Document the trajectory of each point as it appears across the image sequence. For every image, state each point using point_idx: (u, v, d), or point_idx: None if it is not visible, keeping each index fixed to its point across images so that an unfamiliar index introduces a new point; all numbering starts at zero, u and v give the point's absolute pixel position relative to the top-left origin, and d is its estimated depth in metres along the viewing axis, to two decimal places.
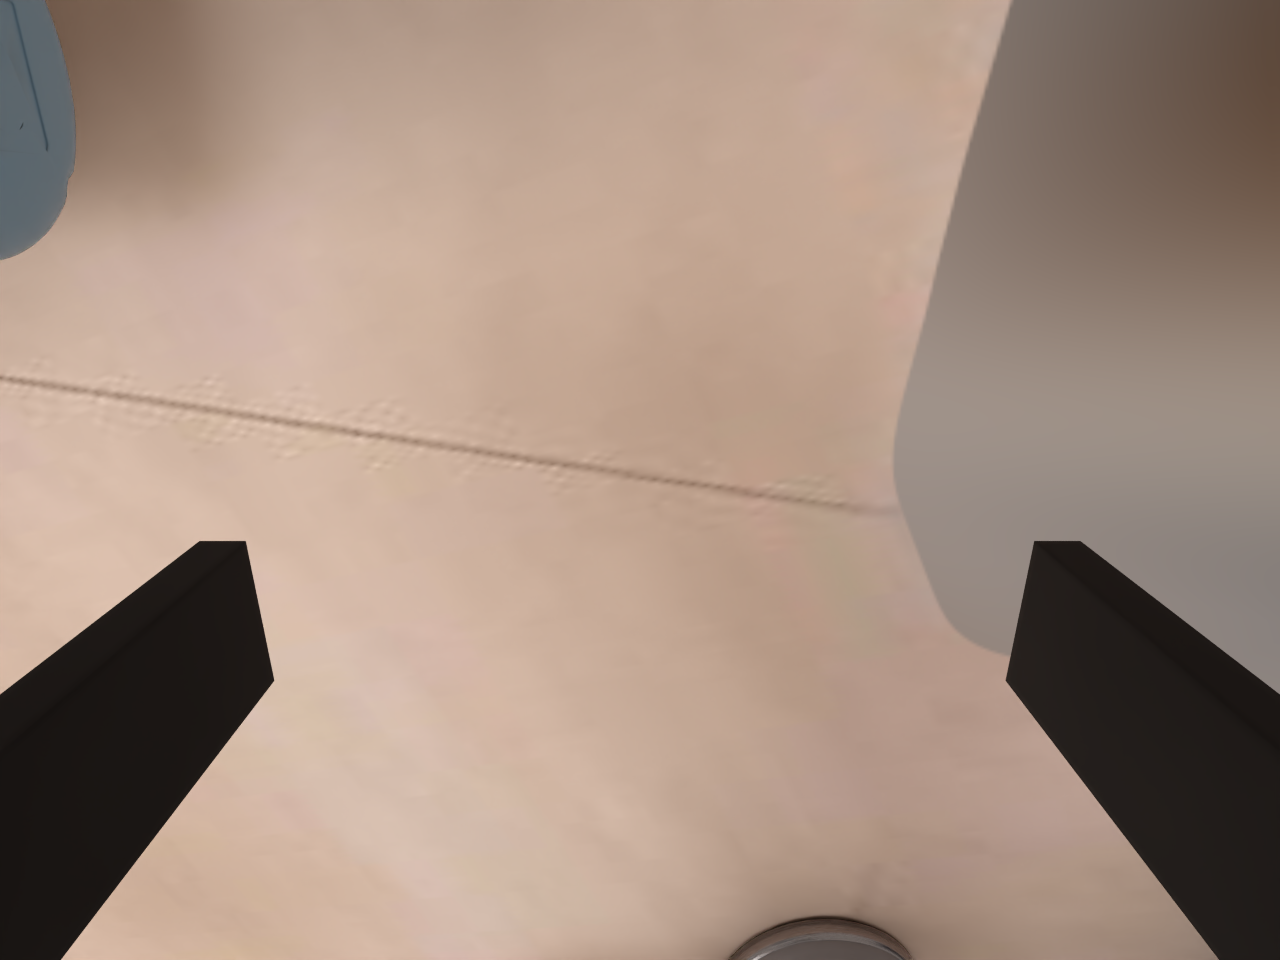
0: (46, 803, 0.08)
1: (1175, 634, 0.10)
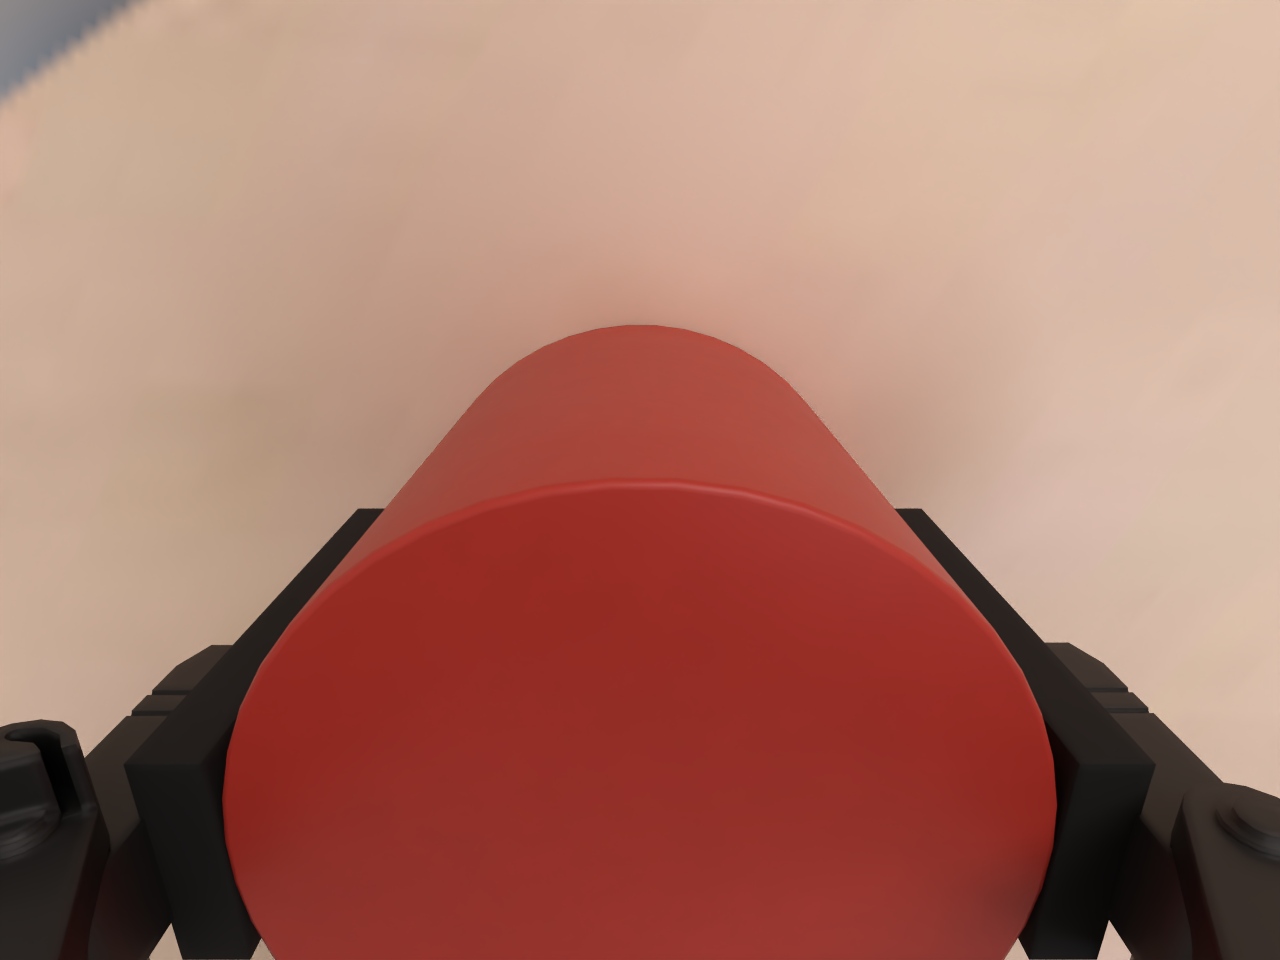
0: None
1: (966, 582, 0.11)
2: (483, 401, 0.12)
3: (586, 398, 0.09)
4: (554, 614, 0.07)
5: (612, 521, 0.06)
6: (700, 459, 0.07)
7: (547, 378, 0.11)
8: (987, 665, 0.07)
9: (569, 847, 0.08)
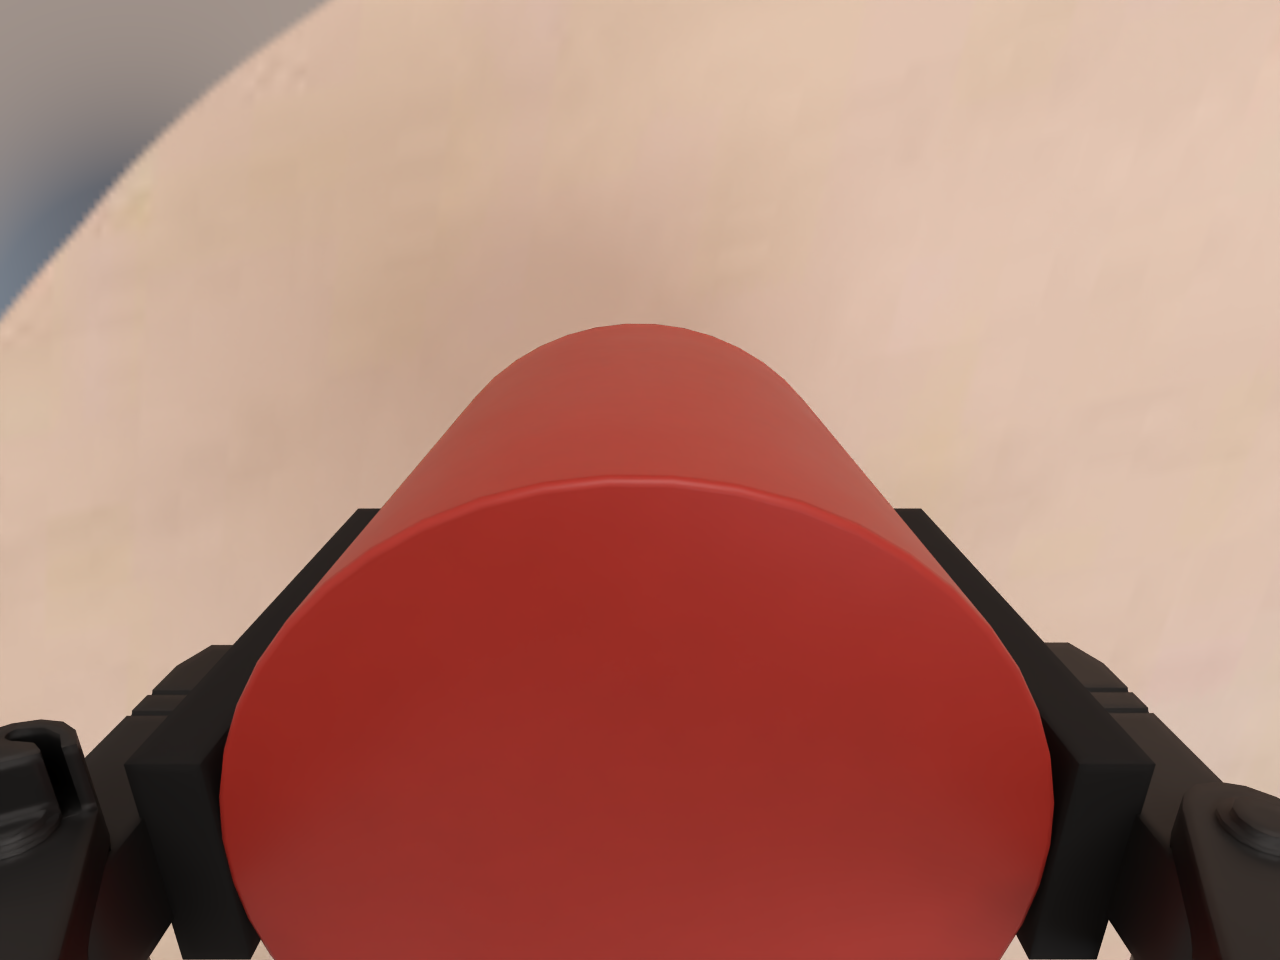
0: None
1: (966, 583, 0.11)
2: (481, 400, 0.12)
3: (583, 396, 0.09)
4: (551, 612, 0.07)
5: (608, 518, 0.06)
6: (697, 457, 0.07)
7: (545, 376, 0.11)
8: (984, 662, 0.07)
9: (566, 844, 0.08)
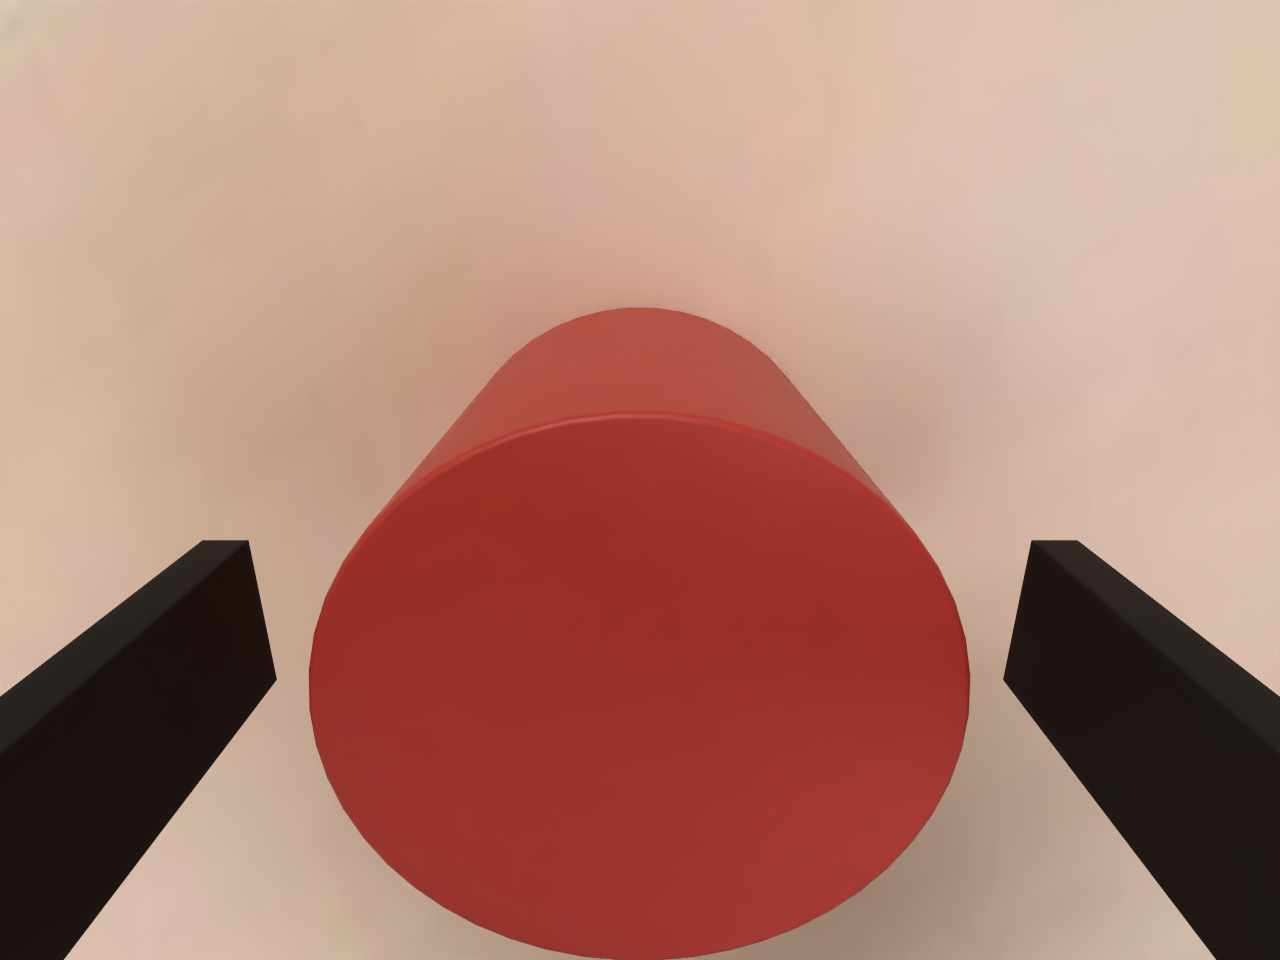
0: (51, 801, 0.08)
1: (1171, 633, 0.10)
2: (505, 371, 0.14)
3: (595, 361, 0.11)
4: (573, 521, 0.09)
5: (617, 444, 0.08)
6: (686, 400, 0.09)
7: (561, 349, 0.13)
8: (910, 561, 0.09)
9: (583, 714, 0.10)
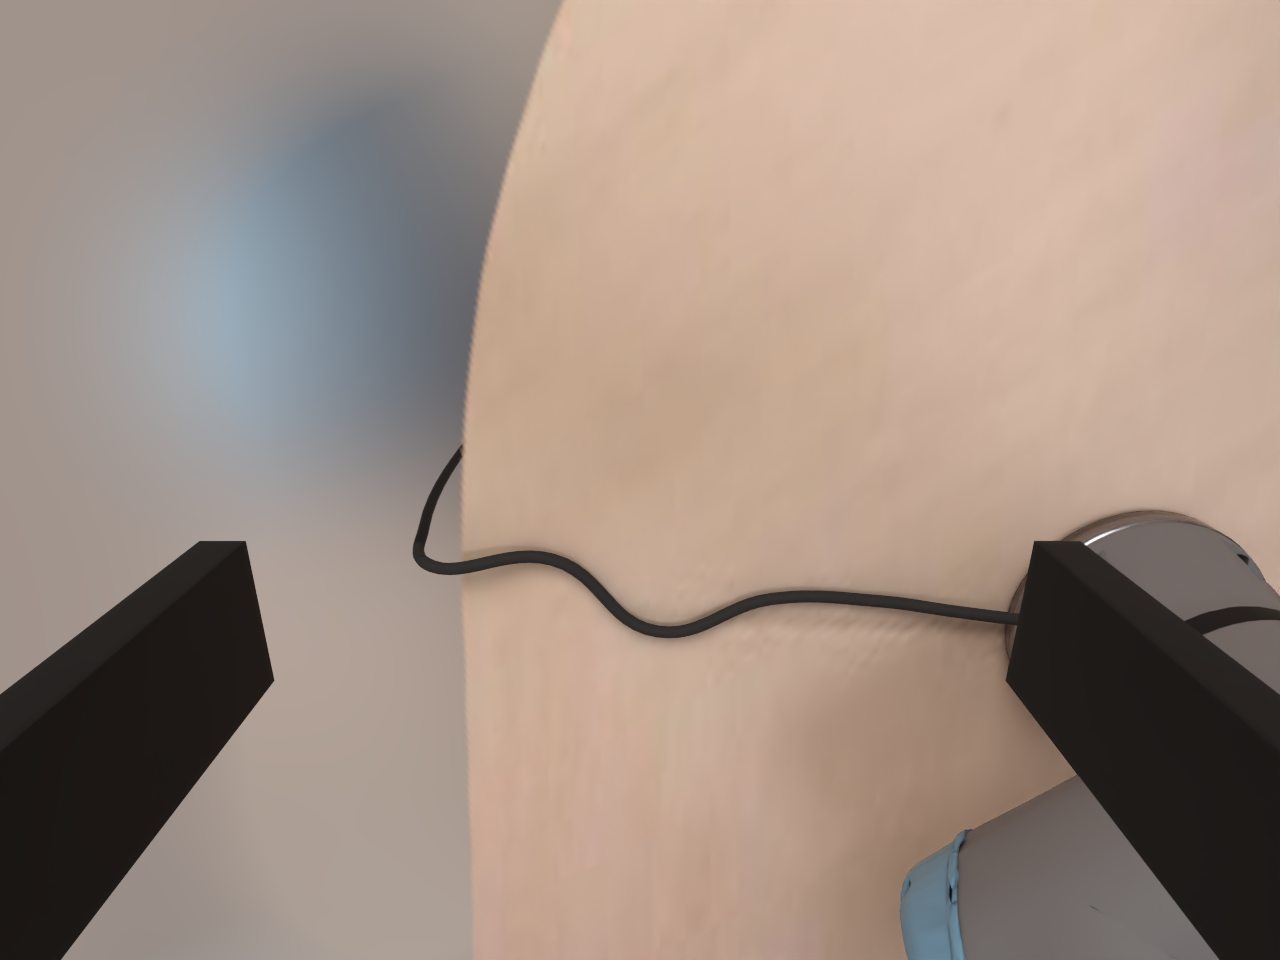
0: (46, 803, 0.08)
1: (1175, 634, 0.10)
2: None
3: None
4: None
5: None
6: None
7: None
8: None
9: None
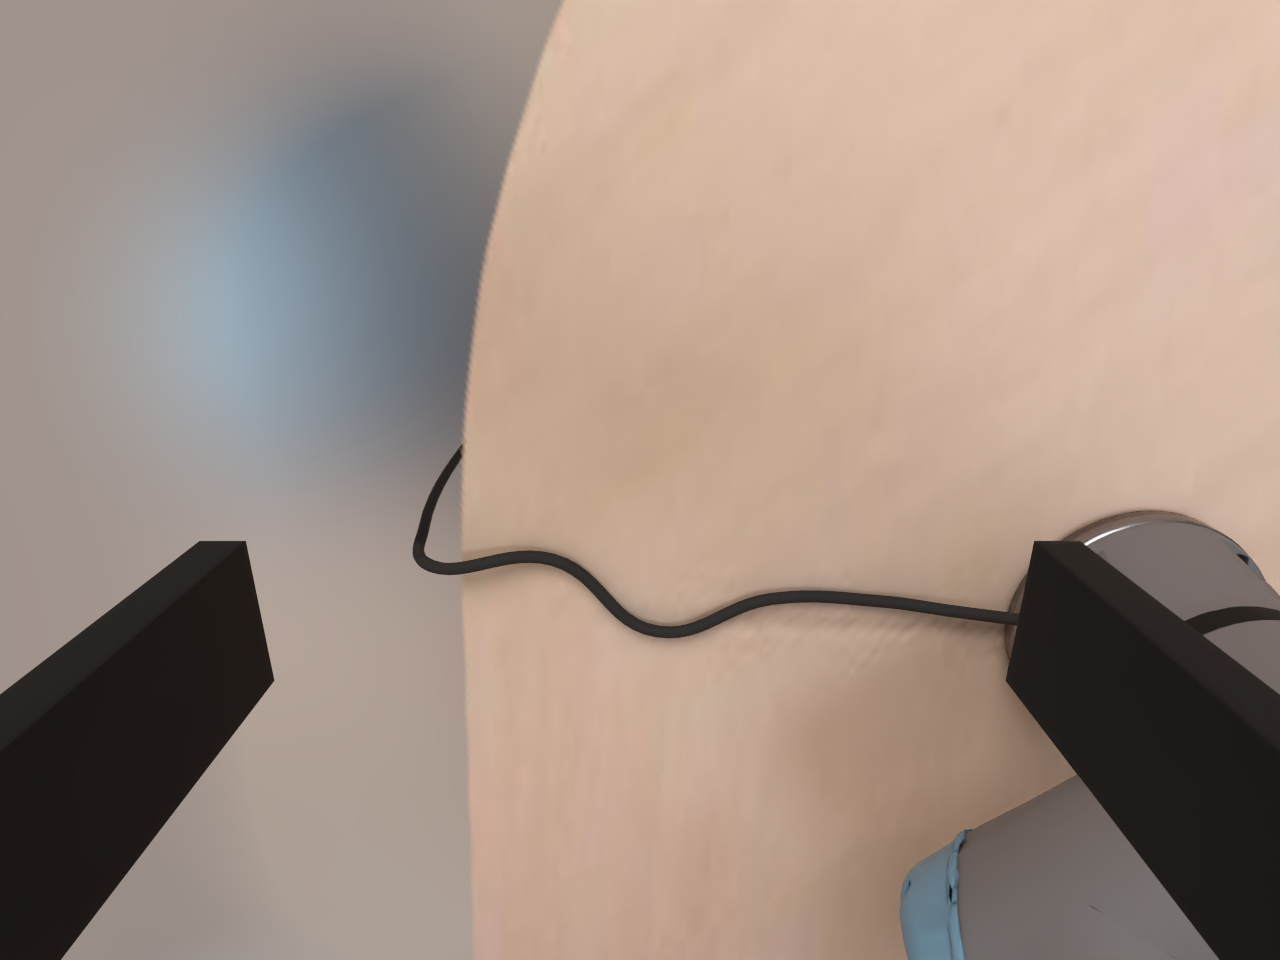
0: (46, 803, 0.08)
1: (1175, 634, 0.10)
2: None
3: None
4: None
5: None
6: None
7: None
8: None
9: None
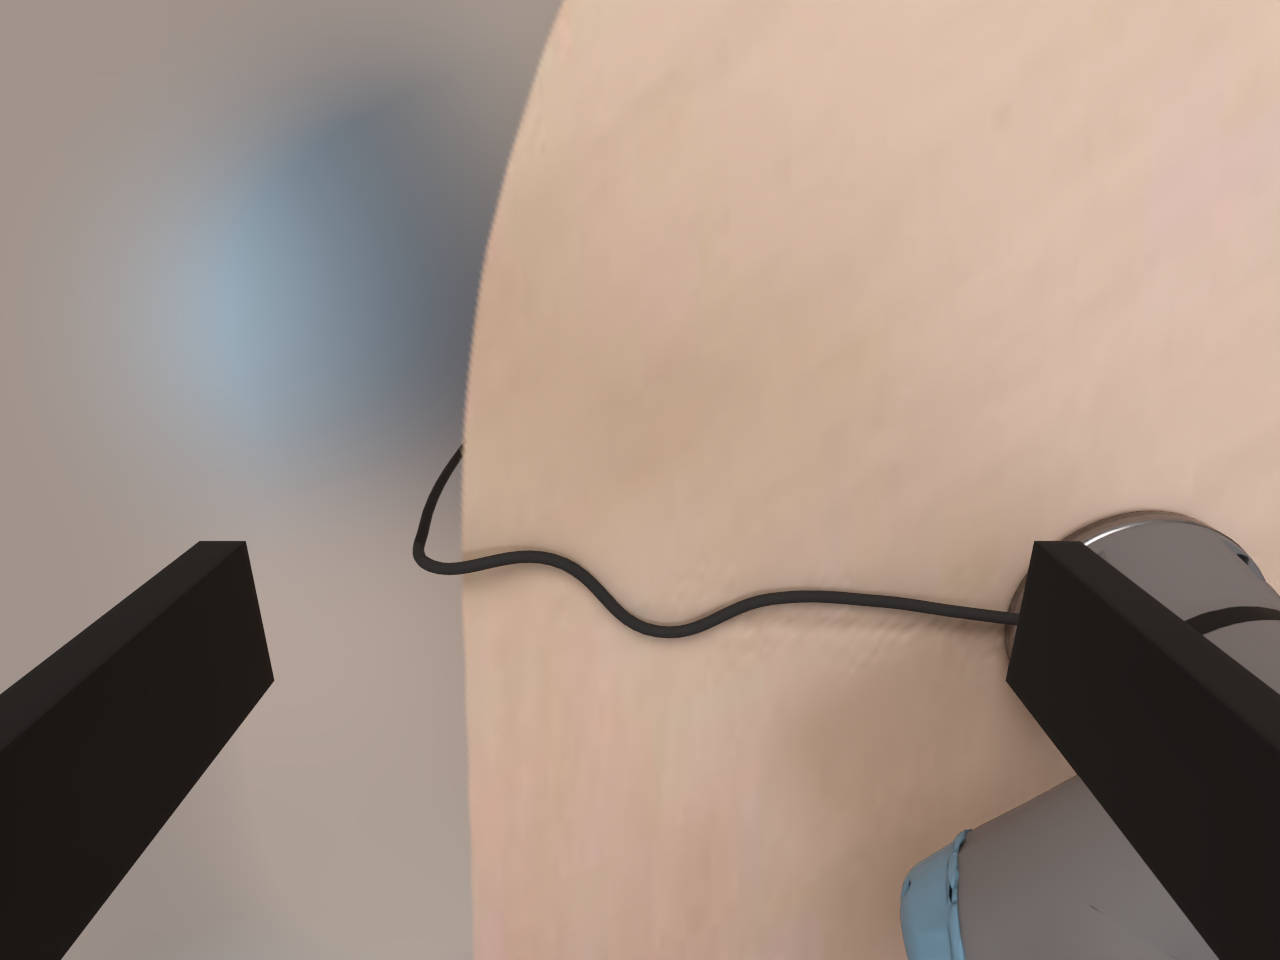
0: (46, 803, 0.08)
1: (1175, 634, 0.10)
2: None
3: None
4: None
5: None
6: None
7: None
8: None
9: None
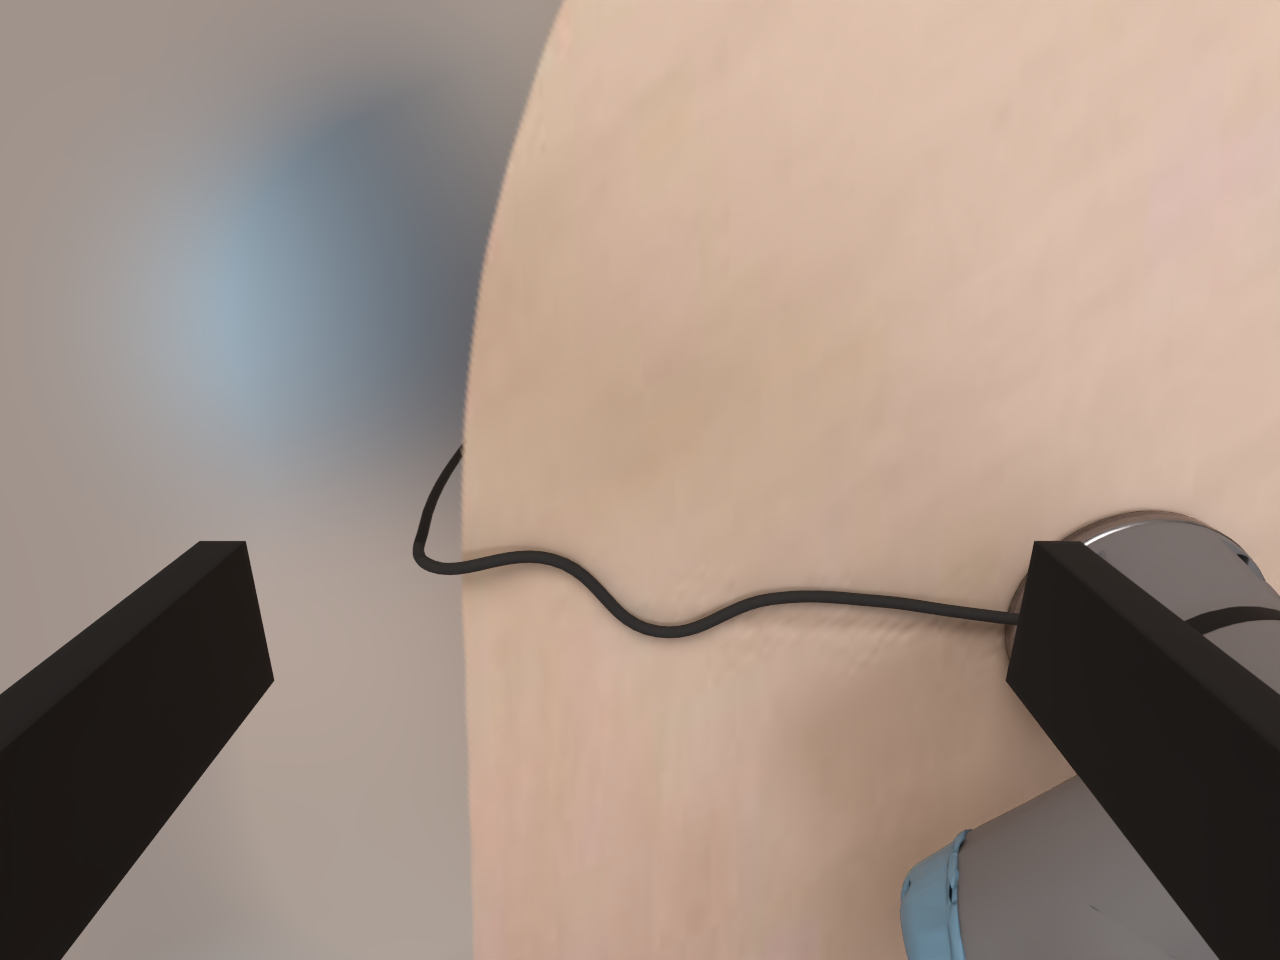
0: (46, 803, 0.08)
1: (1175, 634, 0.10)
2: None
3: None
4: None
5: None
6: None
7: None
8: None
9: None
